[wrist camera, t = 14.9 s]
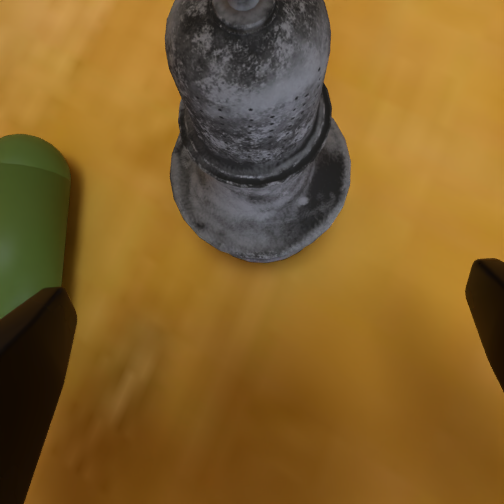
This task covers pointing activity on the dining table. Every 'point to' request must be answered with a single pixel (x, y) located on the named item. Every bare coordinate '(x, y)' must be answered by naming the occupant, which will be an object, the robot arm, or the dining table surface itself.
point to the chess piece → (255, 125)
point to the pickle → (31, 218)
